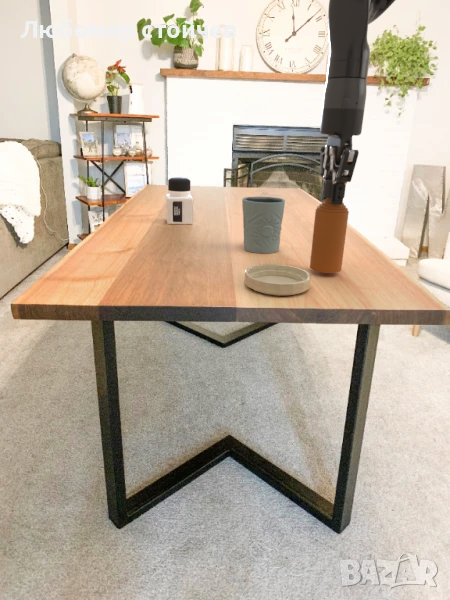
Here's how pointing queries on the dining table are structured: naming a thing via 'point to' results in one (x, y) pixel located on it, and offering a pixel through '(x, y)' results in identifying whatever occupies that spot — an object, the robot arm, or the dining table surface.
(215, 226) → the dining table surface
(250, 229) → the grey blue embossed cup
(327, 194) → the cap
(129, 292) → the dining table surface
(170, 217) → the container
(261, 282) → the dish
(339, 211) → the bottle
